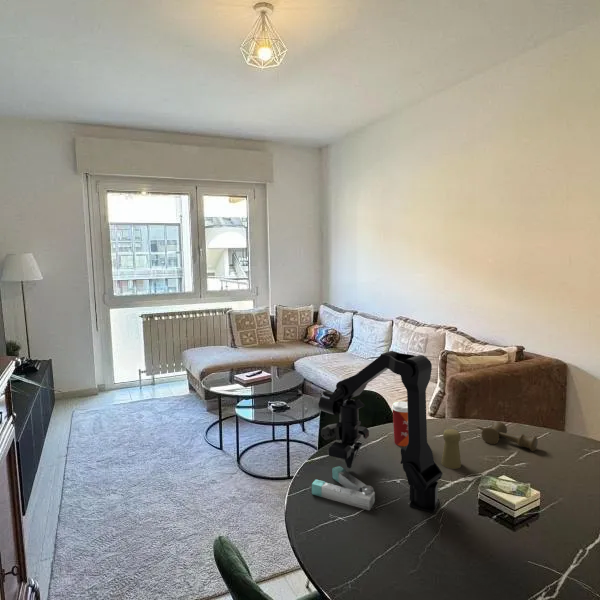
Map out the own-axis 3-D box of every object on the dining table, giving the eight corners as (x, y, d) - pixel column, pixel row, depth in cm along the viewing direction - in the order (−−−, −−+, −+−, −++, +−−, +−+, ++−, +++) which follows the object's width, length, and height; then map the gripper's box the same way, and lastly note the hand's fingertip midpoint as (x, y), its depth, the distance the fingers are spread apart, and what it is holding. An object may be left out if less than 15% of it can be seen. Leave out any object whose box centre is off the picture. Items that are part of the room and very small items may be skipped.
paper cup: (408, 449, 151) (408, 410, 150) (387, 444, 156) (387, 405, 154) (417, 441, 158) (418, 403, 156) (397, 436, 162) (397, 399, 160)
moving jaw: (366, 495, 124) (367, 485, 124) (359, 498, 123) (359, 487, 122) (339, 475, 135) (339, 465, 135) (332, 478, 134) (332, 468, 133)
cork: (458, 459, 144) (459, 427, 142) (463, 469, 138) (464, 435, 136) (439, 459, 144) (440, 426, 143) (443, 468, 138) (444, 434, 137)
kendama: (531, 457, 146) (470, 438, 159) (540, 448, 152) (481, 431, 166) (532, 440, 145) (472, 422, 159) (541, 432, 152) (482, 415, 165)
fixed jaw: (376, 499, 122) (376, 487, 122) (369, 510, 117) (369, 498, 116) (321, 484, 130) (321, 473, 130) (311, 494, 125) (311, 482, 125)
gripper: (337, 405, 148) (338, 449, 150) (311, 425, 132) (312, 474, 134) (369, 410, 143) (369, 457, 145) (346, 432, 127) (346, 483, 128)
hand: (349, 467), depth 138 cm, fingers closed
